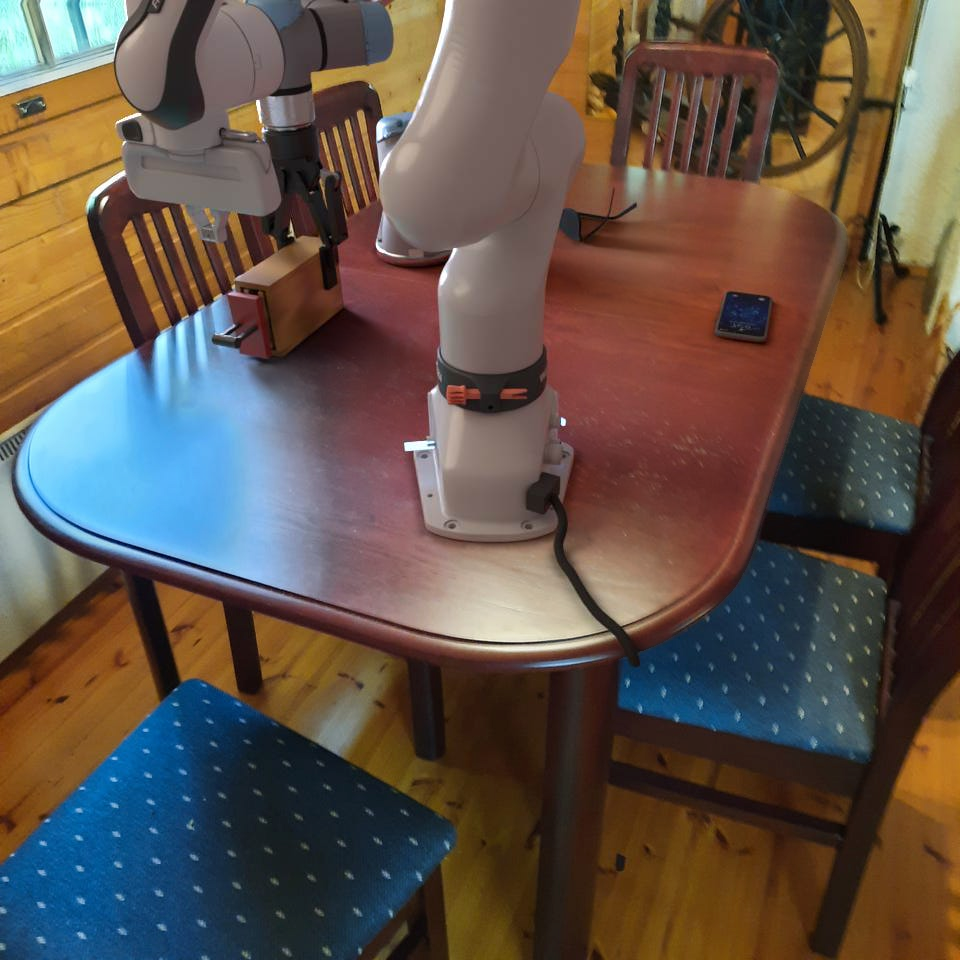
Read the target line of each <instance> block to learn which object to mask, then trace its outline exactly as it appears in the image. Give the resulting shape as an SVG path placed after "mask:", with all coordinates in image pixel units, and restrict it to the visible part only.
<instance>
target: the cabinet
mask: <svg viewBox="0 0 960 960" xmlns="http://www.w3.org/2000/svg"><path fill="white" fill-rule="evenodd" d="M322 245H323V243H322V241H321V238H320V237H315V236H307V235H301V236H299V237H298V238H295V241H293V242H292V243H290V244H289V245H287V246H286V247H284V248H283V249H281V250H280V251H278V250H277V252H275V253H273V254H272V255H270V256H269V257H267V258H266V259H264V260H263V261H261V262H260V263H258V264H256V265H255V266H253V267H252V268H250V269H248V270H247V271H246V272H244V273H243V274H241V275H239V276H237V277H236V278H234V279H233V285H234V288H235V292H239V293H244V289H245V288H251V289H257V290H263V291H265V292H266V297H267V303H268V308H269V314H270V319H271V325H272V330H273V335H274V341H275V346H274V347H273V348H271V352H272V357H279V358H284V356H286V355H287V354H289V353H290V352H291V351H292V350H293V349H294V348H296V347H298V345H299V344H301V343H302V342H303V341H304V340H305V339H307V338H308V337H309V336H311V335H312V334H313V333H314V332H315V331H317V330H318V329H320V327H322V326H323V325H324V324H325V323H326V322H328V321H329V320H330V319H331V318H333V317H334V316H335V315H336V314H337V313H339V312H340V311H341V310H342V309H343V308H344V307H345V303H344V295H343V287H342V280H341V279H342V278H341V272H340V271H341V270H340V264H339V265H338V266H336V272H337V280H338V284H337V285H335V286H334V287H333V288H331V289H330V290H324V283H323V275H322V268H321V261H320V254H319V247H321V246H322Z"/></svg>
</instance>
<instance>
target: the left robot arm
mask: <svg viewBox="0 0 960 960" xmlns="http://www.w3.org/2000/svg"><path fill="white" fill-rule="evenodd" d="M395 1H396V0H243V1H242V2H243V3H245V4H253V5H255V6H257V7H259V8H260V9H261V10H263V11H264V12H265V13H266V14H267V15H268V16H269V17H270V18H271V19H272V21H273V22H274V24H275V25H276V27H277V29H278V30H279V33H280V35H281V37H282V40H283V44H284V48H285V54H286V70H285V75H284V79H283V82H282V84H281V86H280V88H279V89H278V90H277V91H276V92H275V93H273V94H270V95H269V96H267V97H266V98H263V99H261V100H258V101H256V107H257V113H258V120H259V122H260V124H261V125H262V128H261V136H262V139H263V140H264V141H265V143H267V144H268V146H269V149H270V155H271V161H272V164H273V167H274V170H275V173H276V177H277V181H278V185H279V189H280V194H281V203H280V205H279V207H278V208H277V209H276V210H275V211H273V212H272V213H270V214H268V215H266V216H260V223H261V231H262V233H263V235H265V236H270V237H272V238H273V239H274V241H275V242H276V249H277V252H278V251H280V250H281V249H283V248H284V247H286V246H287V245H289V244H290V243H292V242H293V241H295V240H296V238H295V236H294V235H292V233H293V231H292V230H291V222H292V213H293V205H294V204H293V203H294V196H295V194H297V195H299V196H300V197H301V199H302V201H303V202H304V203H305V204H306V205H307V208H308V211H309V213H310V215H311V218H312V220H313V223H314V226H315V228H316V231H317V233H318V236H319V238H321V241H322V243H323V245H322V246H321V247H319V254H320V261H321V268H322V275H323V283H324V290H330V289H331V288H333V287H334V286H335V285H337V284H338V280H337V272H336V266H338V265H339V266H340V256H339V247H338V246H340V245H341V244H343V243H344V242H345V241H347V240H348V239H349V237H350V236H349V229H348V225H347V218H346V213H345V212H346V211H345V206H344V201H343V196H342V189H341V187H342V182H343V181H342V179H343V175H342V172H341V171H339V170H336V171H334V172H333V171H330V170H329V169H326V168H325V167H324V164H323V163H322V161H321V158H320V151H321V144H320V136H319V129H318V125H317V123H315V122H314V121H315V120H316V119H317V116H316V109H315V108H316V107H315V100H314V93H313V82H312V73H318V72H319V73H320V72H324V71H331V70H339V69H347V68H355V67H363V66H366V67H370V66H371V65H374V64H380V63H384V62H386V61H387V60H388V59H389V58H390V57H391V55H392V53H393V51H394V45H395V44H394V43H395V36H394V26H393V22H392V19H391V16H390V14H389V11H388V10H387V8H386V7H388V6H389V5H390V4H393V3H394V2H395ZM413 113H414V111H408V112H402V113H396V114H392V115H391V114H390V115H387V116H384V117H382V118H381V119H380V120H379V121H378V122H377V124H376V140H375V144H376V147H377V158H378V169H379V172H380V171H381V167H382V165H383V162H384V160H385V159H386V157H387V155H388V154H389V153H390V152H391V150H392V149H393V148H394V146H395V145H396V144H397V142H398V141H399V139H400V138H401V136H402V134H403V133H404V131H405V129H406V128H407V126H408V124H409V122H410V120H411V117H412V115H413ZM320 180H321V181H322V183H321V184H320ZM321 186H322V187H323V188H324V189H322V187H321ZM323 190H324V193H323ZM323 194H324V197H323ZM324 199H325V201H324ZM289 235H290V236H289ZM375 248H376V255H377V257H378V258H379V259H381V260H382V261H384V262H385V263H388V264H391V265H395V266H400V267H410V268H411V267H413V268H414V267H415V268H416V267H417V268H418V267H420V268H421V267H431V266H436V265H441V264H444V263H447V261H448V260H449V258H450V255H451V253H452V250H453V249H451V250H445V251H440V252H427V251H422V250H419V249H417V248H415V247H413V246H411V245H410V244H408V243H407V242H406V241H404V240H403V239H402V238H401V237H400V236H399V235H398V234H397V233H396V231H395V230H394V229H393V227H392V226H391V224H390V223H389V221H388V219H387V217H386V215H385V213H384V210H383V209H382V212H381V218H380V221H379V227H378V231H377V236H376V240H375Z"/></svg>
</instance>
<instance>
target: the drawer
mask: <svg viewBox="0 0 960 960" xmlns="http://www.w3.org/2000/svg"><path fill="white" fill-rule="evenodd" d="M227 300H228V304H229V308H230V309H229V310H230V315H231V319H232V323H233V324H232V325H231V326H230V327H228V328H227V329H226V330H224V331H223V332H221V333H217V332H215V333H213V334H212V336H211V343H212V344H213V345H215V346H219V347H225V348H229V349H235V350H238V352H239V354H241V355H245V356H250V357H253V358H254V357H255V358H260V359H265V360H268V359H269V358H271V356H272V357H273V355H272V352H271V348H273V347H274V346H275V341H274V335H273V330H272V325H271V319H270V314H269V308H268V303H267V297H266V292H265V291H263V290H257V289H251V288H245V289H244V293H239V292H236V291H234V290H233V291H230V292H229V293H228V294H227ZM233 333H235V336H233V335H232V334H233Z"/></svg>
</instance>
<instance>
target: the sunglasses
mask: <svg viewBox="0 0 960 960" xmlns="http://www.w3.org/2000/svg"><path fill="white" fill-rule="evenodd" d="M615 189H616V187H613V188H612V193H611V199H610V203H609V208H608V213H607V215H606V216H605V215H598V214H592V213H587V212H580V211H576V210H575V209H573V208H571V207H564V208H563V212H562V216H561V220H560V223H559V227H558V229H560V230H561V232H562V233H563V234H565V235H566V236H567V237H569V238H570V239H573V240H574V241H577V242H583V241H586V240H588V239H589V238H591V237H592V236H594V234H596V233H597V232H598V231H599V230H600V229H601V228H602V227H603V226H604V225H605V224H606V223H607V221H614V220H618V219H621V218H622V217H624V216H625V215H627V214H628V213H630V212H631V211H633V210H634V209H636V208H637V207H638V203H637V202H634V203H633V204H631V205H630V206H629V207H627V208H626V209H624V210H623V211H622V212H620V213H619V214H617V215H614V216H610V214H611V211H612V207H613V200H614V196H615ZM581 217H586V218H591V219H598V220H603V221H602V222H601V223H600V224H599V225H597V226H596V227H595V228H594V229H593V230H591V231H590V232H589V233H587V234H586V235H584V236H583V235H582V218H581Z"/></svg>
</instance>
